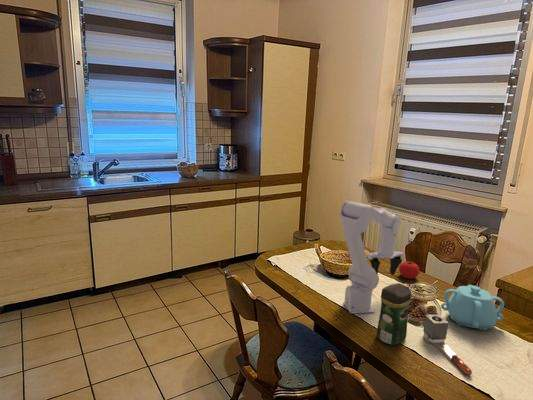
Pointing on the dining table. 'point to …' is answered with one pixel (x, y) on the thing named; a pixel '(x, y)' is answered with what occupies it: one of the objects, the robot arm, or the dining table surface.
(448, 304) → the decorative pot
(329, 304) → the dining table surface
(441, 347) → the ratchet
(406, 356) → the dining table surface
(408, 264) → the tomato
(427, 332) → the socket
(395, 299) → the coffee jar
